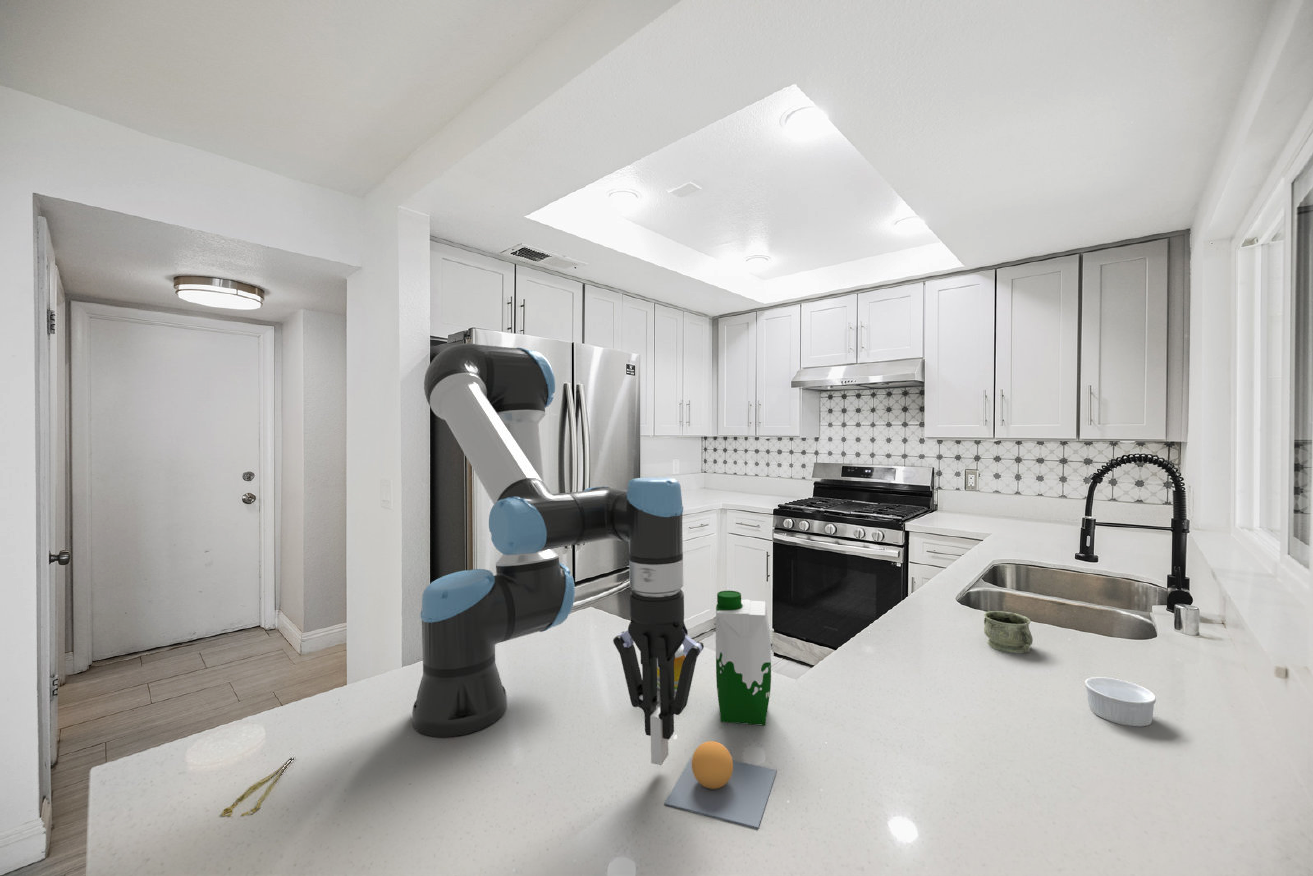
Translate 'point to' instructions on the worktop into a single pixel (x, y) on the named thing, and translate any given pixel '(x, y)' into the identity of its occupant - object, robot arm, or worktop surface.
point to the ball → (712, 765)
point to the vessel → (1007, 631)
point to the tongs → (254, 788)
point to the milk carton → (742, 659)
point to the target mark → (726, 794)
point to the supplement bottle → (677, 667)
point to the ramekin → (1120, 701)
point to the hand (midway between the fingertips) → (660, 758)
